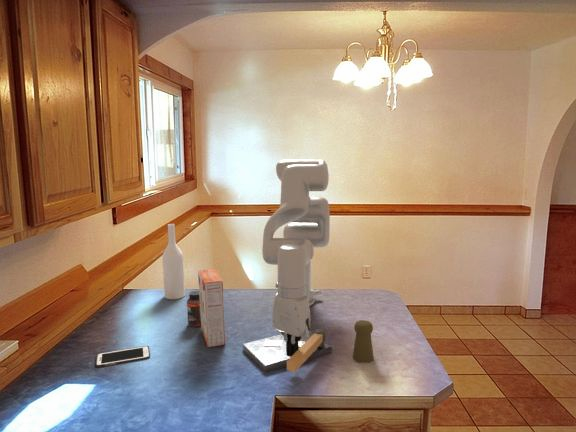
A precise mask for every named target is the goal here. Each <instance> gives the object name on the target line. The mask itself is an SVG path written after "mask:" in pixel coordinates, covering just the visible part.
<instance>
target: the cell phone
mask: <svg viewBox="0 0 576 432" xmlns="http://www.w3.org/2000/svg"><path fill="white" fill-rule="evenodd" d="M149 359H151V353H150V346H149V345H142V346H136V347H131V348H124V349H123V348H122V349H117V350H111V351H105V352H99V353H97V354H96V358H95V368H104V367H106V366H114V365H121V364H126V363H133V362H137V361H144V360H149Z"/></svg>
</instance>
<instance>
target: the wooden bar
mask: <svg viewBox="0 0 576 432" xmlns="http://www.w3.org/2000/svg"><path fill="white" fill-rule="evenodd" d="M326 332H327V331H326V330H325V329H324V328H318V329H315V330H314V333H313V335H312V336H311V337H310V338H309V339H308V340H307V341H306V342H305V343H304V344H303V345H302V346H301V347H300V348H299V349H298V350H297V351H296V352H295V353H294V354H293V355H292V356H291V357H290V358H289V359H288V360H287V366H286V370H287V371H290V372H293V373H295V372H297V371H298V370H299V368H301V366H302V365H303V364H304V363H305V362H306V361H308V360H307V358H308V357H309V356H310V355H311V354H312V353H313V352H314V351H315V350H316V349H317V347H318V346H319V345H320V344H321V343H322V342H326V340H327V339H326V335H327V333H326Z"/></svg>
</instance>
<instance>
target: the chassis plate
mask: <svg viewBox="0 0 576 432" xmlns="http://www.w3.org/2000/svg"><path fill="white" fill-rule="evenodd" d="M313 334H314V333H313V332H311V330H310V331H309V338H310V337H311V336H312V335H313ZM309 338H308V339H309ZM308 339H307V340H308ZM307 340H300V341H298V349H299V348H300V347H301V346H302V345H303V344H304V343H305V342H306V341H307ZM242 351H243V352H244V353H245V354H246V355H247V356H248V357H249V358H250V359H251V360H252V361H253V362H254V363H255V364H256V365H257V366H258V367H259V368H260V369H261V370H262V371H264V373H268V372H272V371H274V370H275V371H276V370H278V369H283V368H287V360H288V359H289V358H290V356H287V352H286V342H285V340H284V336H283V335H282V333H281V334H277V335H274V336H269V337H265V338H261V339H258V340H253V341H249V342H246V343H245V342H244V343H243V344H242ZM332 353H333V346H332V345H331V344H329V343H327V342H326V341H324V342H322V343H321V344H320V345H319V346H318V347H317V349H316V350H315V351H314V352H313V353H312V354H311V355H310V356H309V357H308V358H307V360H306V361H309V360H312V359H315V358H318V357H319V358H320V357H323V356H325V355H326V356H327V355H329V354H332Z"/></svg>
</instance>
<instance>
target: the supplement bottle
mask: <svg viewBox="0 0 576 432" xmlns="http://www.w3.org/2000/svg"><path fill="white" fill-rule="evenodd" d="M186 306H187V307H186V311H187V324H188V326H189V327H193V328H198V327H201V313H200V296H199V290H198V291H197V290H195V291H190V292H189V293H188V299H187V300H186Z"/></svg>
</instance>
